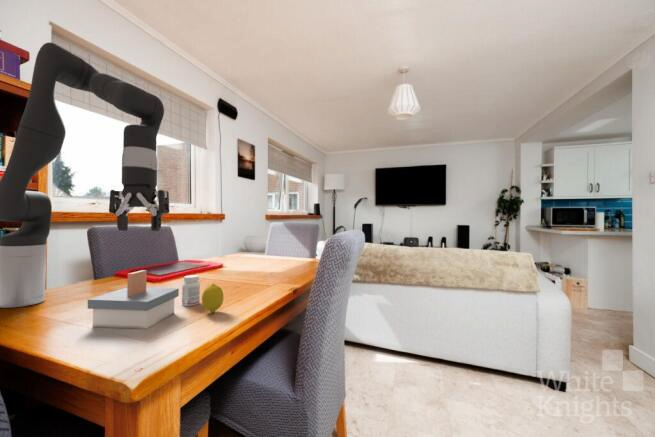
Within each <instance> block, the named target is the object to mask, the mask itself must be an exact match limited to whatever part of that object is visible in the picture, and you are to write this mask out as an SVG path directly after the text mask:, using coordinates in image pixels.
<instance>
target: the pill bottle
mask: <svg viewBox="0 0 655 437" xmlns="http://www.w3.org/2000/svg"><path fill="white" fill-rule="evenodd" d="M199 279H200V277H199V275H198V274H190V275H185V276H184V277H183V284H182V285H181V286H182V288H181V290H182V291H181V292H182V296H181V297H182V298H181V304H182V306H183V307H184V306H185V307H192V306H196V305H199V304H200V301H201V300H200V296H201V295H200V292H201V291H200V290H201V283H200V281H199Z"/></svg>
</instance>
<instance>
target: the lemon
mask: <svg viewBox="0 0 655 437" xmlns="http://www.w3.org/2000/svg"><path fill="white" fill-rule="evenodd" d="M201 303H202V306H203V308H204V309H205V310H206V311H209V312H210V313H215V311H217V310H219V309H220V308H221V307H222V305H223V303H224V292H223V289H222V287H220V286H219V285H217V284H216V283H212V284H211V285H209V286H207V287H206V288H205V289H204V290H203V292H202V296H201Z"/></svg>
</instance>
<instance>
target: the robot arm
mask: <svg viewBox="0 0 655 437" xmlns="http://www.w3.org/2000/svg"><path fill="white" fill-rule="evenodd" d="M56 82H58V83H60V84H62V85H64V86H66V87H68V88H71V89H75V90H80V91H84V92H88V93H92V94H94V95H95V96H96V97H97V98H99V99H100V100H102V101H104V102H106V103H108V104H110V105H112V106H114V108H116V109H117V110H119V111H121V112H123V113H125V114H127V115H131V116H133V117H137V118H139V119H140V124H133V123H132V124H127V125H126V126H124V129H123V142H122V143H123V144H122V146H123V149H122V155H121V184H122V186H123V189H122V190H119V189H118V190H117V189H110V190H109V205H108V212H109V213H110V214H113V215H115V216H116V226H117V229H118V231H123V232H125V231H128V230H129V225H128V224H129V216H128V215H129V213H130V212H131V211H132V210H134V208H145V209H146V210H148V211H149V213H151V217H150V218H151V222H150V223H151V224H150V227H151V228H150V231H151V232H159V231H160V229H161V228H162V216H164V215H167V214H169V213H170V196H169V195H170V194H169V191H168V190H165V189H164V190H163V189H158V190H157V189H156V188H157V186H158V157H157V156H158V155H157V137H158V133H159V130H160V127H161V124H162V121H163V118H164V114H165V107H164V104H163V102H162V99H160V98H159V97H158V96H157V95H154V94H152V93H151V92H148V91H146V90H145V89H142V88H140V87H138V86H136V85H134V84H132V83H129V82H126V81H125V80H123V79H120V78H118V77H116V76H113V75H112V74H108V73H105V72H100V71H99V70H98V69H97V68H95V67H94V66H93V65H91V63H89V62H88V61H86V60H85V59H84V58H82V57H80V56H78V55H76V54H75V53H73V52H71V51H69V50H67V49H65V48H64V47H62V46H60V45H58V44H56V43H55V42H46V43H44V44H42V46H40V49H39V50H38V52H37V54H36V58H35V62H34V67H33V72H32V78H31V84H30V90H29V94H28V98H27V100H26V105H25V108H24V111H23V114H22V116H21V119H20V122H19V126H18V129H17V132H16V135H15V139H14V143H13V146H12V150H11V154H10V155H9V156H10V157H9V160H8V163H7V165H6V168H5V170H4V172H3V174H2V176H1V178H0V221H1V222H11V223H12V222H14V223H15V222H18V223H22V224H21V226H20V227H19V228H18V229H17V230H16V229H15V230H14V231H12V232H9V233H6V234H3V235H2V236H0V308H1V309H7V308H9V309H11V308H21V307H26V306H31V305H33V306H34V305H36V304H40V303H42V302H44V301H46V276H47V274H46V273H47V272H46V271H47V270H46V268H47V267H46V266H47V241H48V237H49V235H50V231H51V220H52V213H53V212H52V211H53V209H52V208H53V207H52V201H51V199H50V197H49V195H47V194H46V193H45V192H43V191H34V190H27V188H28V186H29V184H30V182H31V180H32V179H33V177H34V176H35V175H36V174H37V173H38V172H40V171H41V170H42V169H43V168H45V167H46V166H47V165H49V164H50V163H51V162H53V161H54V160H55V159H56V158H57V157H58V156H59V155H60V153H61V151H62V147H63V145H64V141H65V138H66V133H67V132H66V128H65V124H64V121H63V118H62V116H61V114H60V111H59V109H58V106H57V103H56V99H55V89H56V88H55V87H56ZM156 199H158V203H157V202H156Z"/></svg>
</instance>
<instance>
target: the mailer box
mask: <svg viewBox="0 0 655 437" xmlns="http://www.w3.org/2000/svg"><path fill="white" fill-rule="evenodd" d="M173 314H175V298H173V299H171V300H169V301H167V302H165V303H163V304H161V305H158V306H156V307H154V308H152V309H150V310H148V311H141V310H113V309H92V327H93V328H112V329H113V328H114V329H115V328H116V329H137V330H138V329H139V330H142V329H143V330H146V329H149V328H150V327H152V326H154V325H156V324H158V323H159V322H161V321H163V320H164V319H166V318H169V317H170V316H172V315H173Z"/></svg>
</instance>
